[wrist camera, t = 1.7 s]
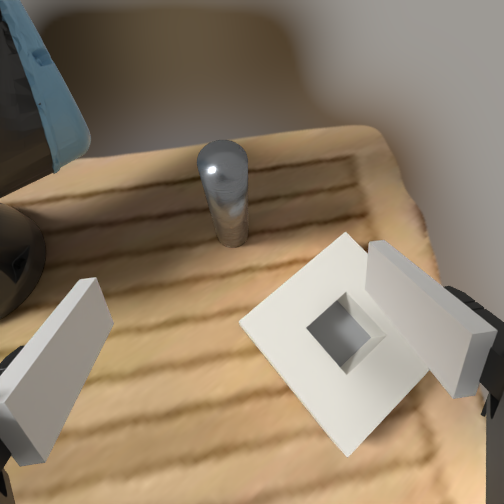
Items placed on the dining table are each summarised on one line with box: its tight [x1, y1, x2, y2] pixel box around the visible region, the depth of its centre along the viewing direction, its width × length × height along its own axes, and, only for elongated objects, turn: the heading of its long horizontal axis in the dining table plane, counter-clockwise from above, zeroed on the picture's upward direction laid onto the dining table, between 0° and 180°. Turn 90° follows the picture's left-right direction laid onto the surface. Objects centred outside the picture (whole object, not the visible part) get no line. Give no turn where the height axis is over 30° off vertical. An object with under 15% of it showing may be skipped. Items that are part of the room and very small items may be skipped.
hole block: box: [239, 232, 429, 458], centre depth 31 cm, size 15×15×5 cm
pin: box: [197, 140, 248, 248], centre depth 31 cm, size 4×4×15 cm
